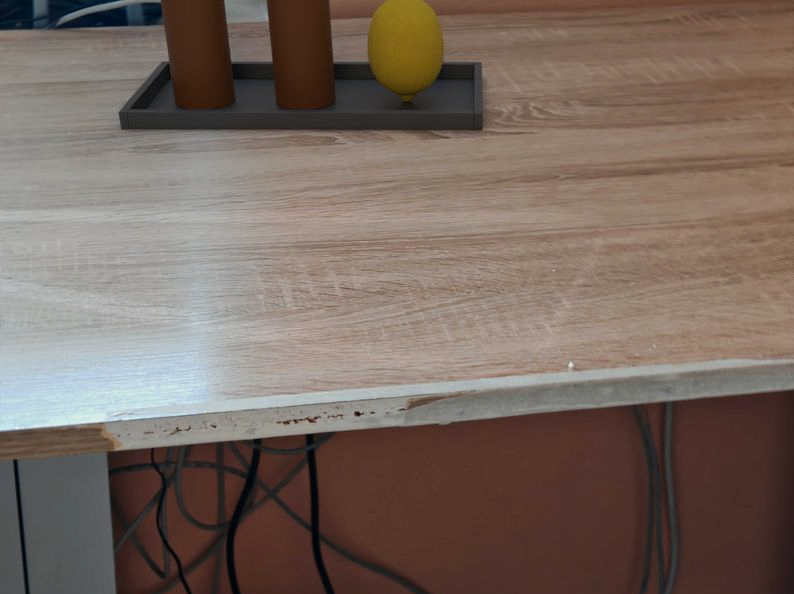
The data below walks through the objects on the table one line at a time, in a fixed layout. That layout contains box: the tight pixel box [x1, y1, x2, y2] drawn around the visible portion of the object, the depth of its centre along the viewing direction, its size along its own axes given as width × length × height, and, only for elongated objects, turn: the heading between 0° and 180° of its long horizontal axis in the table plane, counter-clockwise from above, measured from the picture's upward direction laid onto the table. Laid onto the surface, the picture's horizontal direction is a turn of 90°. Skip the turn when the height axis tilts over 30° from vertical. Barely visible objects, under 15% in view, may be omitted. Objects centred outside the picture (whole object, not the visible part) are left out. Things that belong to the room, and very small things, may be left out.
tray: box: [117, 60, 484, 131], centre depth 80 cm, size 25×12×2 cm, turn 90°
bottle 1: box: [160, 0, 235, 110], centre depth 77 cm, size 4×4×13 cm
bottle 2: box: [266, 0, 336, 110], centre depth 77 cm, size 4×4×13 cm
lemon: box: [366, 0, 445, 101], centre depth 78 cm, size 6×6×8 cm
